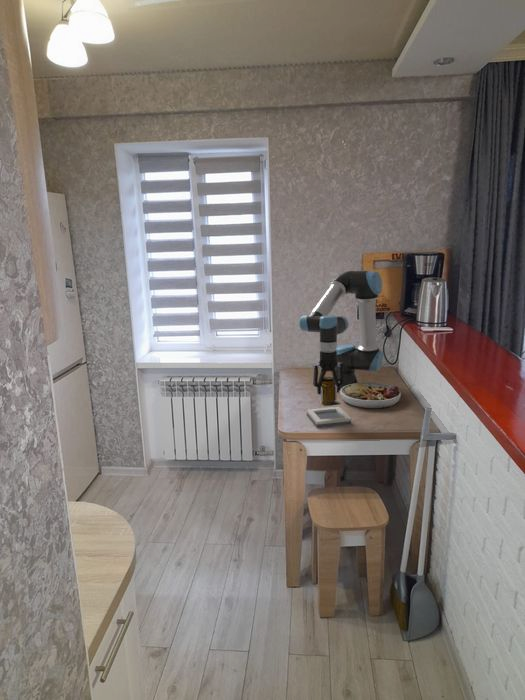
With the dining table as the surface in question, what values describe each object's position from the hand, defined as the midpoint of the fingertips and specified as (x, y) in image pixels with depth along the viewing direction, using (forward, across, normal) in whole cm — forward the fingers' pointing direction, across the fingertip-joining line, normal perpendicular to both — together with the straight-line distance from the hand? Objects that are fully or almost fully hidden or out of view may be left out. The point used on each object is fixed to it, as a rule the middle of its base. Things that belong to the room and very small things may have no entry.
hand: (328, 400), depth 213 cm
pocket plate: (+9, 0, 0) cm, 10 cm away
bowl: (+10, +29, +20) cm, 37 cm away
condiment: (+2, +1, 0) cm, 2 cm away
